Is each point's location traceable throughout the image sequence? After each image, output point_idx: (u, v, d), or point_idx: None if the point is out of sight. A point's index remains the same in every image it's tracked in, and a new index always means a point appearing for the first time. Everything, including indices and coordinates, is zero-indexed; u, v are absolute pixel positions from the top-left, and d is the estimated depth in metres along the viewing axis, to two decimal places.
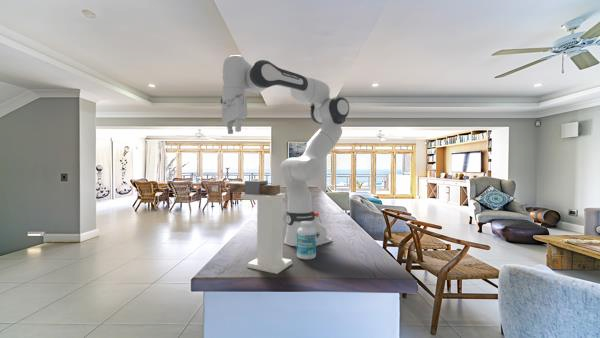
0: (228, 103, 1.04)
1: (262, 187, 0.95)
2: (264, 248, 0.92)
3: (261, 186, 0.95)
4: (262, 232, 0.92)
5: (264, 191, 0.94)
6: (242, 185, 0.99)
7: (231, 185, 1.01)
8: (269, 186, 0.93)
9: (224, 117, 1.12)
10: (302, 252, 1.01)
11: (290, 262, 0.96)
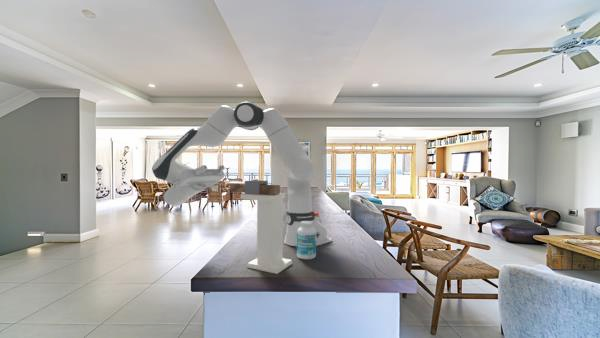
0: (196, 186, 1.09)
1: (262, 187, 0.95)
2: (264, 248, 0.92)
3: (261, 186, 0.95)
4: (262, 232, 0.92)
5: (264, 191, 0.94)
6: (242, 185, 0.99)
7: (231, 185, 1.01)
8: (269, 186, 0.93)
9: (217, 178, 1.15)
10: (302, 252, 1.01)
11: (290, 262, 0.96)
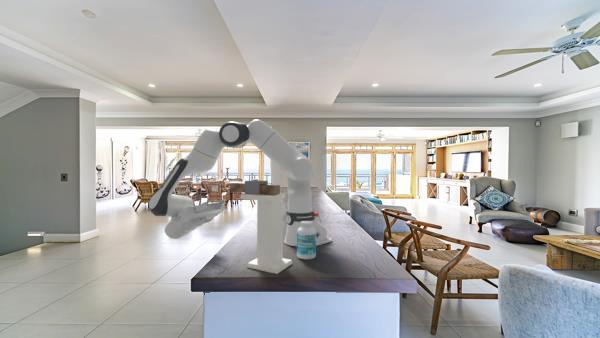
0: (197, 220, 1.09)
1: (262, 187, 0.95)
2: (264, 248, 0.92)
3: (261, 186, 0.95)
4: (262, 232, 0.92)
5: (264, 191, 0.94)
6: (242, 185, 0.99)
7: (231, 185, 1.01)
8: (269, 186, 0.93)
9: (218, 211, 1.15)
10: (302, 252, 1.01)
11: (290, 262, 0.96)
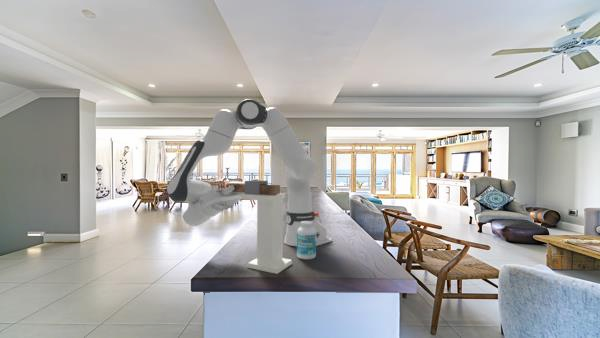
0: (219, 206, 1.04)
1: (262, 187, 0.95)
2: (264, 248, 0.92)
3: (261, 186, 0.95)
4: (262, 232, 0.92)
5: (264, 191, 0.94)
6: (242, 185, 0.99)
7: None
8: (269, 186, 0.93)
9: (239, 197, 1.10)
10: (302, 252, 1.01)
11: (290, 262, 0.96)
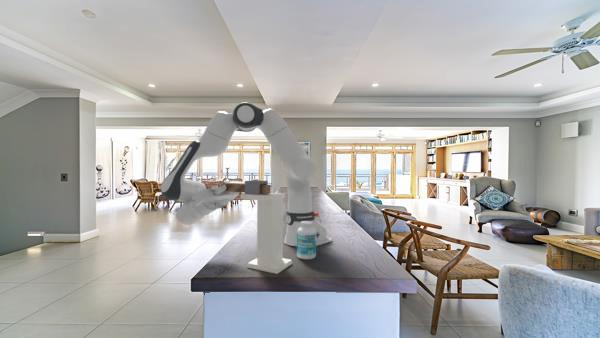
0: (211, 205, 1.06)
1: None
2: (264, 248, 0.92)
3: None
4: (262, 232, 0.92)
5: None
6: (234, 185, 1.00)
7: None
8: (260, 186, 0.95)
9: (232, 196, 1.12)
10: (302, 252, 1.01)
11: (290, 262, 0.96)
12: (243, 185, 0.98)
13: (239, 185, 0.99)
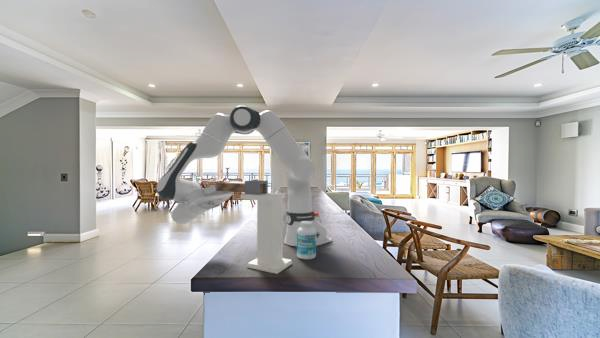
0: (205, 204, 1.07)
1: None
2: (264, 248, 0.92)
3: None
4: (262, 232, 0.92)
5: None
6: (227, 184, 1.02)
7: (217, 184, 1.04)
8: None
9: (226, 196, 1.13)
10: (302, 252, 1.01)
11: (290, 262, 0.96)
12: (236, 185, 1.00)
13: (232, 185, 1.01)
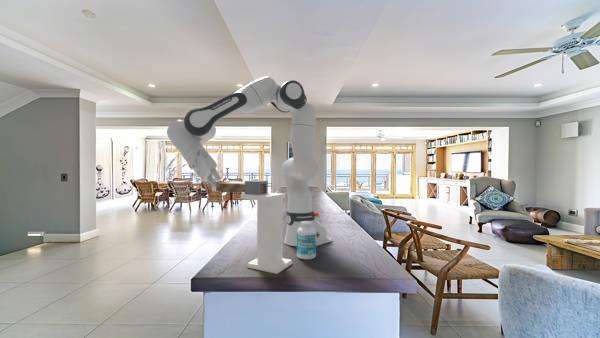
0: (195, 164, 1.08)
1: None
2: (264, 248, 0.92)
3: None
4: (262, 232, 0.92)
5: None
6: (228, 184, 1.02)
7: (217, 184, 1.04)
8: None
9: (202, 177, 1.16)
10: (302, 252, 1.01)
11: (290, 262, 0.96)
12: (236, 185, 1.00)
13: (233, 185, 1.01)
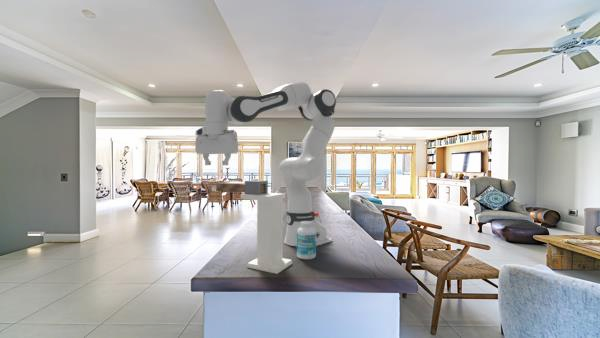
0: (214, 137, 1.06)
1: None
2: (264, 248, 0.92)
3: None
4: (262, 232, 0.92)
5: None
6: (228, 184, 1.02)
7: (217, 184, 1.04)
8: None
9: (200, 148, 1.11)
10: (302, 252, 1.01)
11: (290, 262, 0.96)
12: (236, 185, 1.00)
13: (233, 185, 1.01)
